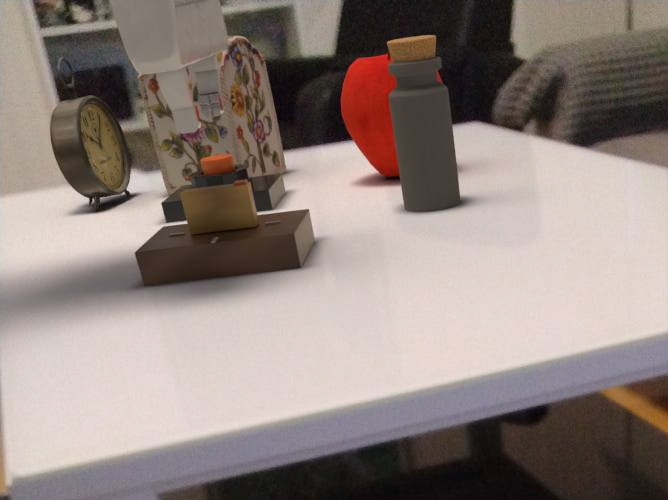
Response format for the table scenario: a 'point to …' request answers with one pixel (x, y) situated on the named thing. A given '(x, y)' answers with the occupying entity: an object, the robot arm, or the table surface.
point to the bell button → (217, 164)
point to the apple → (371, 111)
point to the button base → (263, 187)
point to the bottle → (422, 126)
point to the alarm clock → (89, 145)
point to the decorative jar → (219, 120)
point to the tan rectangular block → (220, 207)
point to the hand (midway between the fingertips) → (202, 123)
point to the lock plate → (226, 250)
